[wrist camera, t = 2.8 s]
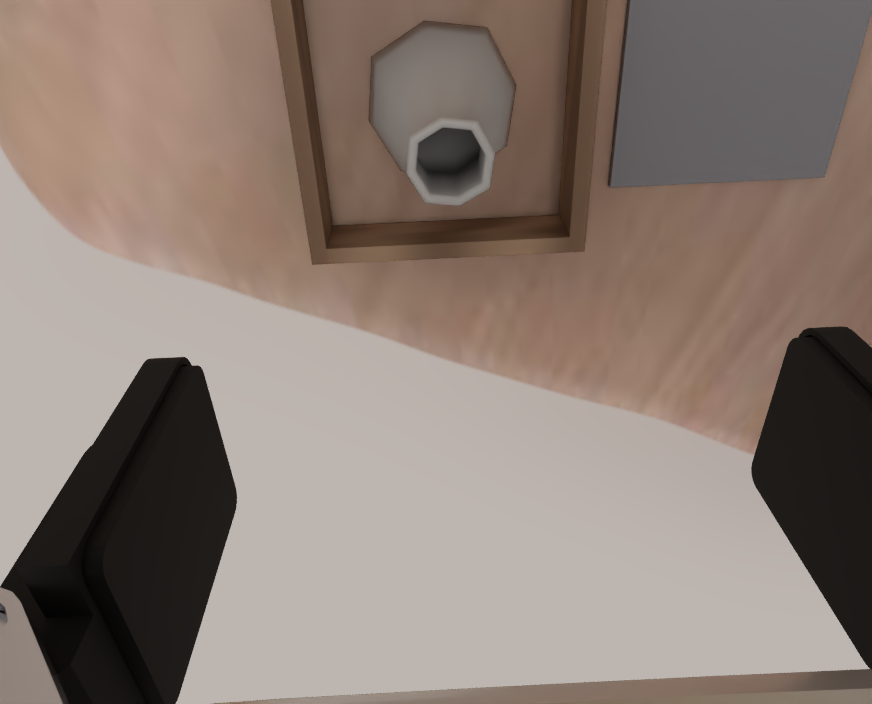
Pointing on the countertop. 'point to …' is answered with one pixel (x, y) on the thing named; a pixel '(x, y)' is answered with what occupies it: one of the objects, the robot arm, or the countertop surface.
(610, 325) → the countertop surface
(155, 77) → the countertop surface
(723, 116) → the charcoal mat
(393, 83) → the flask
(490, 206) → the countertop surface
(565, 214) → the walnut frame
